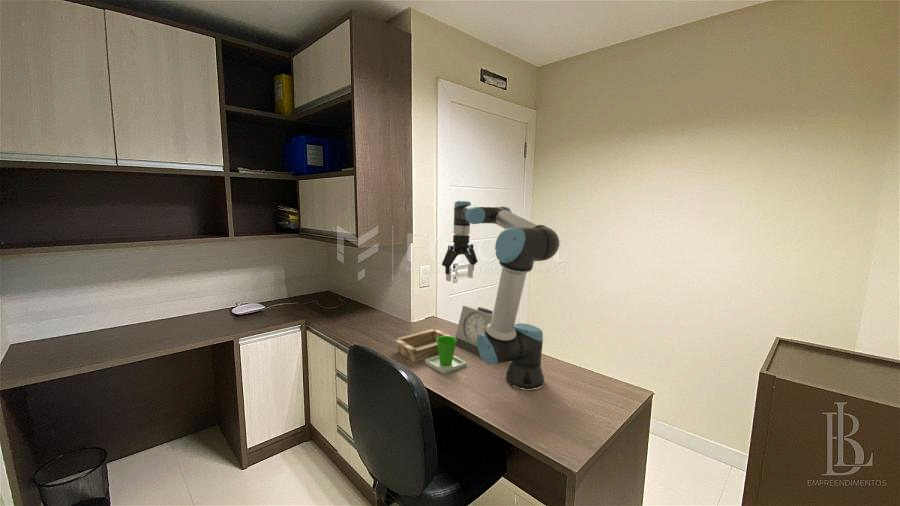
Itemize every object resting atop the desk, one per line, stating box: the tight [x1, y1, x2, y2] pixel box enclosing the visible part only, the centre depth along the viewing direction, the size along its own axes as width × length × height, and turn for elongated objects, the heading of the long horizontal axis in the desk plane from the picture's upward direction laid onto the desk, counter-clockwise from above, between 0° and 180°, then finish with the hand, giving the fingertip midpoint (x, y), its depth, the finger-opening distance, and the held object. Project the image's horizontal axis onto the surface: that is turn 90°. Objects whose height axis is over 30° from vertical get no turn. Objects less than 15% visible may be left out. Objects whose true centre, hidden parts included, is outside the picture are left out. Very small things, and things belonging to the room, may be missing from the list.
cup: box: [436, 335, 457, 366], centre depth 159 cm, size 9×9×11 cm
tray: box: [424, 354, 468, 376], centre depth 160 cm, size 13×13×2 cm
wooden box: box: [394, 328, 451, 363], centre depth 173 cm, size 17×25×6 cm
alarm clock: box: [454, 305, 494, 358], centre depth 179 cm, size 20×16×20 cm
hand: (459, 279), depth 172 cm, fingers open, 13 cm apart
